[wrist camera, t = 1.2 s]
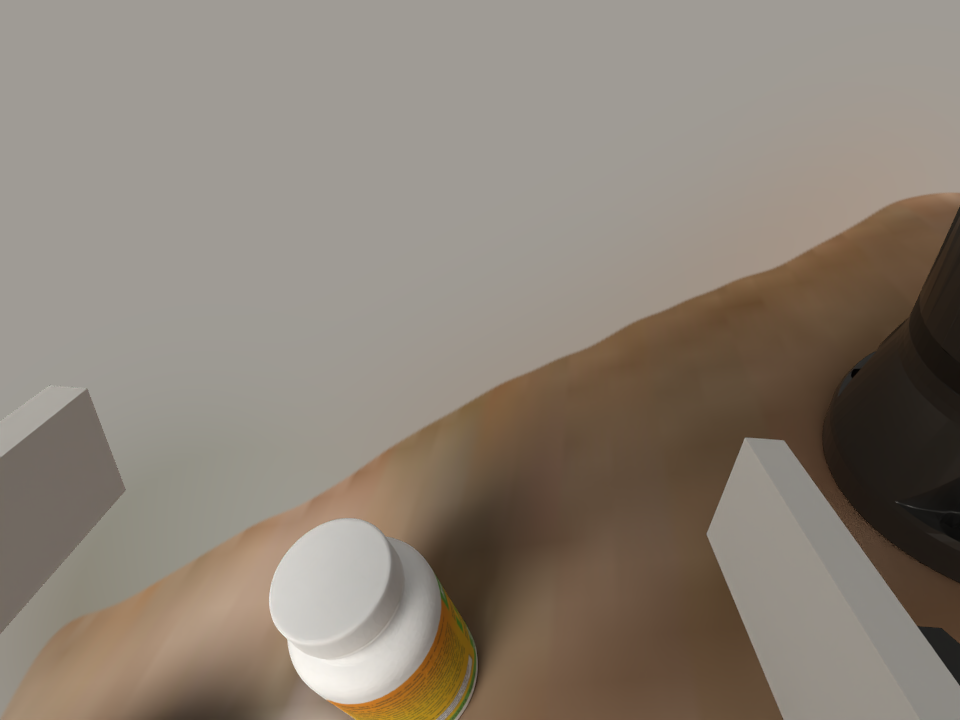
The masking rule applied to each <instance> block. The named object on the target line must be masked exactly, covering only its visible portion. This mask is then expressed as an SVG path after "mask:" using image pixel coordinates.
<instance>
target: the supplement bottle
mask: <svg viewBox="0 0 960 720" xmlns="http://www.w3.org/2000/svg"><path fill="white" fill-rule="evenodd" d="M269 607H270V612H271V616H272V619H273V621H274V624H275V625H276V627H277V629H278V630H279V631H280V632H281V634H282V635H283V636H284V637H286V638H287V640H288V648H289V653H290V657H291V660H292V663H293V665H294V667H295V669H296V671H297V672H298V674H299V676H300V677H301V679H302V680H303V681H304V682H305V683H306V684H307V685H308V686H309V687H310V688H311V689H312V690H313V691H315V692H316V693H317V694H319V695H320V696H321V697H323V698H324V699H326V700H327V701H329V702H330V703H332V704H334V705H335V706H337V707H338V708H339V709H341V710H342V711H344V712H345V713H347V714H348V715H350V716H351V717H353V718H354V719H356V720H458V719H459V717H460V716H461V715H462V713H463V712H464V710H465V709H466V707H467V705H468V703H469V701H470V699H471V697H472V694H473V691H474V688H475V684H476V678H477V671H478V658H477V650H476V646H475V643H474V639H473V637H472V635H471V633H470V630H469V628H468V627H467V625H466V623H465V622H464V620H463V619H462V617H461V615H460V614H459V612H458V611H457V609H456V607H455V606H454V604H453V603H452V601H451V600H450V598H449V596H448V595H447V593H446V591H445V590H444V588H443V587H442V585H441V583H440V582H439V580H438V578H437V577H436V575H435V573H434V571H433V570H432V568H431V567H430V565H429V564H428V563H427V561H426V560H425V558H424V557H423V556H422V555H421V554H420V553H419V552H418V551H417V550H416V549H414V548H413V547H412V546H410V545H409V544H407V543H405V542H403V541H400V540H398V539H395V538H391V537H385V535H384V534H383V533H382V532H381V531H380V530H379V529H378V528H377V527H376V526H374V525H373V524H371V523H369V522H367V521H364V520H361V519H355V518H342V519H336V520H332V521H329V522H326V523H323V524H321V525H319V526H317V527H315V528H314V529H312V530H310V531H309V532H307V533H306V534H304V535H303V536H302V537H301V538H300V539H299V540H298V541H297V542H296V543H294V545H293V546H292V547H291V548H290V549H289V550H288V551H287V553H286V554H285V556H284V557H283V559H282V560H281V562H280V564H279V565H278V567H277V570H276V572H275V574H274V577H273V580H272V583H271V587H270V595H269Z"/></svg>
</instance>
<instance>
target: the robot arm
mask: <svg viewBox="0 0 960 720" xmlns="http://www.w3.org/2000/svg"><path fill="white" fill-rule="evenodd" d="M822 436H823V449H824V453H825V457H826V460H827V463H828V466H829V469H830V471H831V473H832V475H833V477H834V479H835V481H836V483H837V484H838V486H839V488H840V489H841V491H842V492H843V494H844V495H845V496H846V498H847V499H848V500H849V502H850V503H851V504H852V505H853V507H854V508H855V509H856V510H857V511H858V512H859V513H860V514H861V515H862V516H863V518H864V519H865V520H866V521H867V522H869V523H870V524H871V525H872V526H873V527H874V528H875V529H876V530H877V531H878V532H880V533H881V534H882V535H883V536H884V537H885V538H887V539H888V540H889V541H891V542H892V543H893V544H894V545H896V546H897V547H899V548H900V549H901V550H903V551H904V552H906V553H907V554H909V555H910V556H912V557H913V558H915V559H916V560H918V561H920V562H921V563H923V564H925V565H926V566H928V567H930V568H932V569H933V570H935V571H937V572H939V573H941V574H943V575H945V576H947V577H949V578H951V579H953V580H955V581H957V582H959V583H960V207H959V210H958V212H957V214H956V216H955V218H954V221H953V223H952V225H951V227H950V230H949V232H948V234H947V236H946V238H945V241H944V243H943V245H942V247H941V249H940V252H939V254H938V256H937V258H936V260H935V262H934V264H933V266H932V268H931V271H930V273H929V275H928V277H927V279H926V281H925V283H924V285H923V288H922V291H921V293H920V295H919V297H918V299H917V301H916V303H915V306H914V308H913V310H912V312H911V314H910V316H909V318H908V319H906V320H905V321H904V322H903V323H902V324H901V325H900V326H899V327H897V328H896V329H895V330H894V331H893V332H892V333H891V334H890V335H889V336H888V337H887V338H886V339H885V340H884V341H883V342H882V344H881V345H880V346H879V347H878V349H877V351H875V352H873V353H872V354H870V355H868V356H867V357H865V358H864V359H863V360H861V361H860V362H859V363H857V364H856V365H855V366H854V367H853V368H852V369H851V370H850V371H849V372H848V373H847V374H846V376H845V377H844V378H843V380H842V381H841V383H840V384H839V386H838V387H837V389H836V391H835V393H834V396H833V398H832V401H831V404H830V406H829V409H828V412H827V414H826V417H825V420H824V425H823V433H822ZM125 490H126V489H125V487H124V484H123V482H122V479H121V476H120V473H119V471H118V468H117V465H116V463H115V460H114V458H113V455H112V452H111V450H110V447H109V445H108V442H107V439H106V437H105V434H104V431H103V429H102V426H101V423H100V421H99V418H98V416H97V413H96V410H95V408H94V405H93V402H92V400H91V397H90V395H89V392H88V389H87V388H74V387H62V386H48V387H47V388H45V389H44V390H43V391H41V392H40V393H38V394H37V395H35V396H34V397H33V398H31V399H30V400H29V401H27V402H26V403H24V404H23V405H22V406H20V407H19V408H18V409H16V410H15V411H14V412H12V413H11V414H9V415H8V416H7V417H5V418H4V419H3V420H1V421H0V634H1V632H2V631H3V630H4V629H5V628H6V627H7V626H8V625H9V623H10V622H11V621H12V620H13V619H14V618H15V617H16V615H17V614H18V613H19V612H20V611H21V610H22V608H23V607H24V606H25V605H26V604H27V603H28V602H29V600H30V599H31V598H32V597H33V596H34V595H35V593H36V592H37V591H38V590H39V589H40V588H41V587H42V585H43V584H44V583H45V582H46V581H47V580H48V579H49V577H50V576H51V575H52V574H53V573H54V572H55V571H56V570H57V568H58V567H59V566H60V565H61V564H62V563H63V561H64V560H65V559H66V558H67V557H68V556H69V555H70V553H71V552H72V551H73V550H74V549H75V548H76V547H77V545H78V544H79V543H80V542H81V541H82V540H83V538H84V537H85V536H86V535H87V534H88V533H89V532H90V531H91V529H92V528H93V527H94V526H95V525H96V524H97V522H98V521H99V520H100V519H101V518H102V517H103V516H104V515H105V513H106V512H107V511H108V510H109V509H110V508H111V506H112V505H113V504H114V503H115V502H116V501H117V500H118V498H119V497H120V496H121V495H122V494H123V493H124V491H125ZM707 537H708V539H709V541H710V544H711V546H712V549H713V551H714V553H715V556H716V558H717V561H718V563H719V565H720V568H721V570H722V573H723V575H724V578H725V580H726V582H727V585H728V587H729V590H730V592H731V594H732V597H733V599H734V602H735V604H736V606H737V609H738V611H739V614H740V616H741V618H742V621H743V623H744V626H745V628H746V631H747V633H748V635H749V638H750V640H751V643H752V645H753V647H754V650H755V652H756V655H757V657H758V659H759V662H760V664H761V667H762V669H763V671H764V674H765V676H766V679H767V681H768V683H769V686H770V688H771V691H772V693H773V696H774V698H775V700H776V703H777V705H778V708H779V710H780V712H781V715H782V717H783V720H960V644H959V643H958V642H957V641H956V640H954V639H953V638H952V637H951V636H950V635H949V634H948V633H946V632H945V631H944V630H943V629H942V628H932V627H919V626H916V624H915V623H914V621H913V620H912V619H911V617H910V616H909V614H908V613H907V612H906V610H905V609H904V607H903V606H902V605H901V603H900V602H899V600H898V599H897V598H896V596H895V595H894V593H893V592H892V591H891V589H890V588H889V586H888V585H887V584H886V582H885V581H884V579H883V578H882V577H881V575H880V574H879V572H878V571H877V570H876V568H875V567H874V565H873V564H872V563H871V561H870V560H869V558H868V557H867V556H866V554H865V553H864V552H863V550H862V549H861V547H860V546H859V545H858V543H857V542H856V540H855V539H854V538H853V536H852V535H851V533H850V532H849V531H848V529H847V528H846V526H845V525H844V524H843V522H842V521H841V519H840V518H839V517H838V515H837V514H836V512H835V511H834V510H833V508H832V507H831V505H830V504H829V503H828V501H827V500H826V498H825V497H824V496H823V494H822V493H821V491H820V490H819V489H818V487H817V486H816V484H815V483H814V482H813V480H812V479H811V477H810V476H809V475H808V473H807V472H806V471H805V469H804V468H803V466H802V465H801V464H800V462H799V461H798V459H797V458H796V457H795V455H794V454H793V452H792V451H791V450H790V448H789V447H788V445H787V444H786V443H785V441H784V440H773V439H759V438H746V437H745V439H744V441H743V444H742V446H741V449H740V451H739V454H738V456H737V459H736V461H735V464H734V466H733V469H732V471H731V474H730V477H729V479H728V482H727V484H726V487H725V489H724V492H723V494H722V497H721V499H720V502H719V504H718V507H717V509H716V512H715V514H714V517H713V519H712V522H711V524H710V527H709V529H708V532H707Z"/></svg>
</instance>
